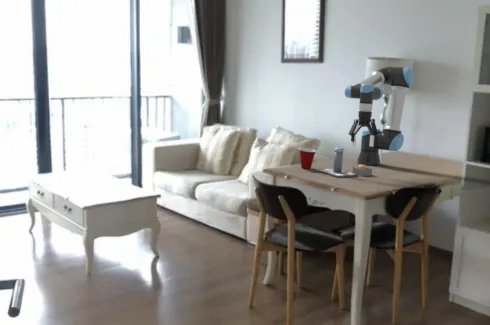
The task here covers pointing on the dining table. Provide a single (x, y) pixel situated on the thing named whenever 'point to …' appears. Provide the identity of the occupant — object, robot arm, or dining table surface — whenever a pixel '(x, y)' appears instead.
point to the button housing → (362, 171)
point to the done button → (362, 166)
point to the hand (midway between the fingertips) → (362, 146)
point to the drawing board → (336, 174)
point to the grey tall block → (338, 160)
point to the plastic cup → (306, 157)
